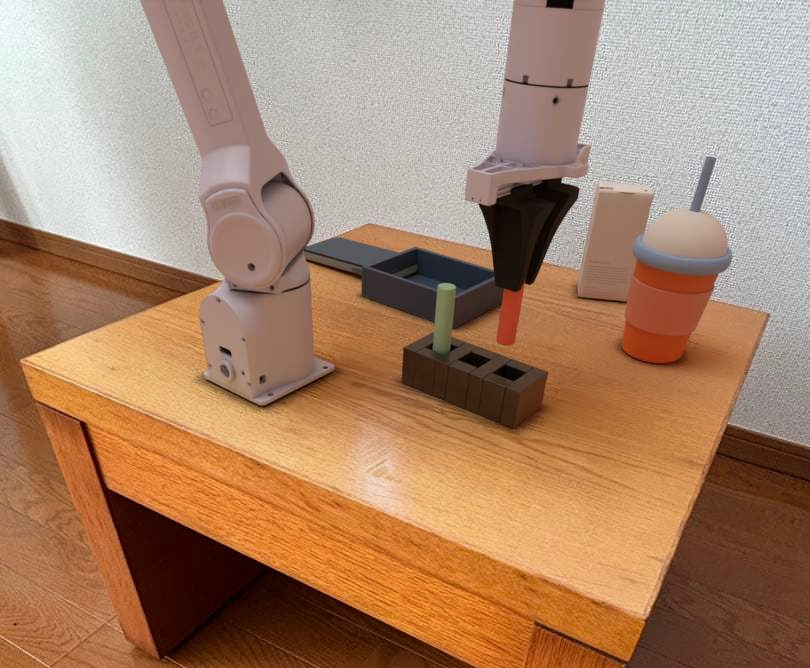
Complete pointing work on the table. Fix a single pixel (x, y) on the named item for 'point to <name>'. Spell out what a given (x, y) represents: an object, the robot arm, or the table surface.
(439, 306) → the green rod
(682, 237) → the cup with straw
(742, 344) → the table surface
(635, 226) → the cosmetic box
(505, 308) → the red rod
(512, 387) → the straw rack
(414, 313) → the bin
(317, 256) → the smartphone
